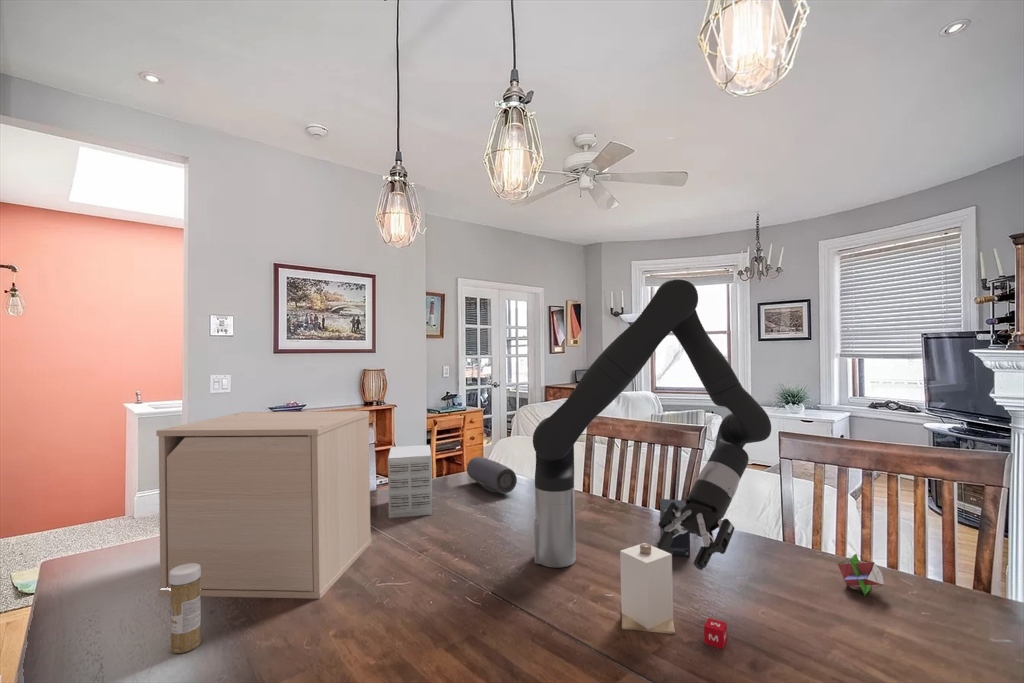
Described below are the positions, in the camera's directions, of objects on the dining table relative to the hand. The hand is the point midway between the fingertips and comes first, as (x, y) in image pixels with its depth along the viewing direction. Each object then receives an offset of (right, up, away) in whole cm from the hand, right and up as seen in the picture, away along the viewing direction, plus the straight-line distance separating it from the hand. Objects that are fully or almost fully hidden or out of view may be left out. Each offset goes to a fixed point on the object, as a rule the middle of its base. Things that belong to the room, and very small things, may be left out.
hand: (678, 559), depth 96 cm
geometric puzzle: (+38, -8, +4) cm, 39 cm away
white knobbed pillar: (-7, -8, -5) cm, 12 cm away
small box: (+8, -9, +27) cm, 29 cm away
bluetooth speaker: (-40, -11, +81) cm, 91 cm away
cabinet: (-87, -11, +21) cm, 90 cm away
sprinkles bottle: (-88, -10, -11) cm, 89 cm away
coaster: (-7, -9, -5) cm, 12 cm away
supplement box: (-64, -11, +62) cm, 90 cm away
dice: (+2, -9, -12) cm, 15 cm away
